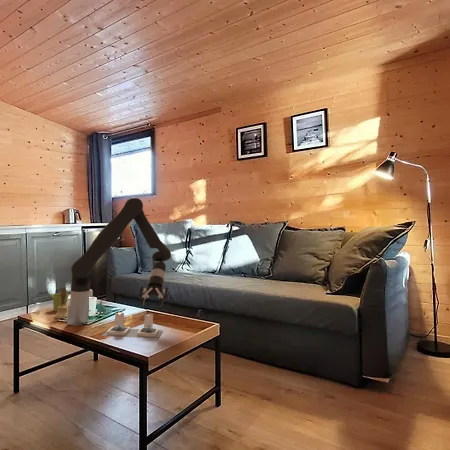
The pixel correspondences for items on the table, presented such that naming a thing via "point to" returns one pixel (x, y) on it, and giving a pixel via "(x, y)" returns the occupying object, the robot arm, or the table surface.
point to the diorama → (101, 308)
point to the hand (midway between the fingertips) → (151, 305)
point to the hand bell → (62, 306)
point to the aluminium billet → (148, 323)
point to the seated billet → (119, 321)
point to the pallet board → (133, 333)
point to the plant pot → (58, 300)
